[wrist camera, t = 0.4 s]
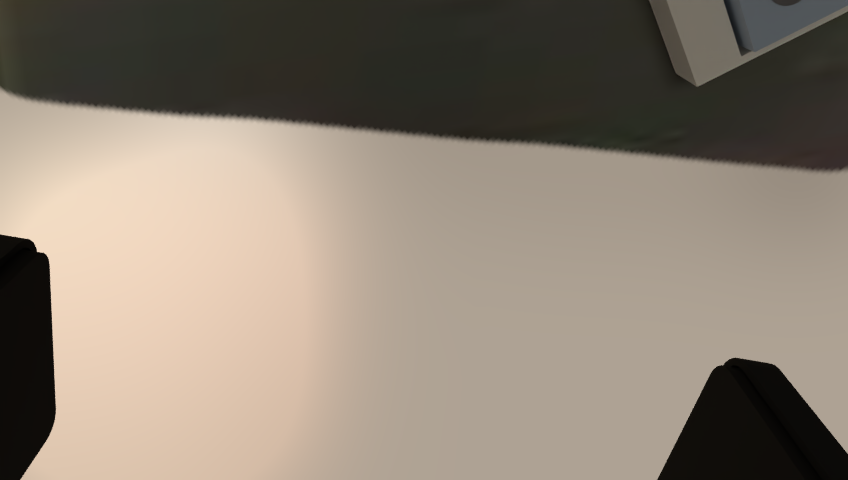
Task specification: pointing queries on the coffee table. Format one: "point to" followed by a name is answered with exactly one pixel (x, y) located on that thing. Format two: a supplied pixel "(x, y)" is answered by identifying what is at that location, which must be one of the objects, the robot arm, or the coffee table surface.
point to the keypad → (708, 38)
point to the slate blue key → (774, 18)
